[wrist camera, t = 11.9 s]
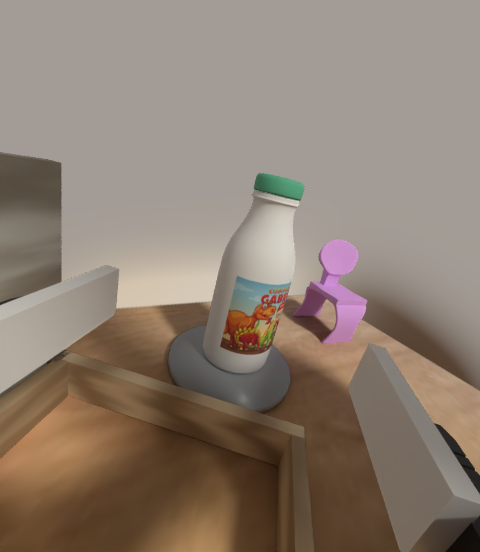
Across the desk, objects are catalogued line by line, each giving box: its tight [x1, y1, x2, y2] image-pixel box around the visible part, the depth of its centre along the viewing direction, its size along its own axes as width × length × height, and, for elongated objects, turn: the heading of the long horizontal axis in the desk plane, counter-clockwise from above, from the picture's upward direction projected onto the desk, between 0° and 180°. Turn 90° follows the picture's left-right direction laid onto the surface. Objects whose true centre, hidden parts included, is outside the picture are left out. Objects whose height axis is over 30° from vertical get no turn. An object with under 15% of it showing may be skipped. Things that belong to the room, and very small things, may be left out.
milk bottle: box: [203, 173, 304, 374], centre depth 27 cm, size 8×8×20 cm
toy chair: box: [293, 239, 367, 343], centre depth 41 cm, size 8×9×15 cm
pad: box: [168, 325, 291, 413], centre depth 30 cm, size 14×14×1 cm
